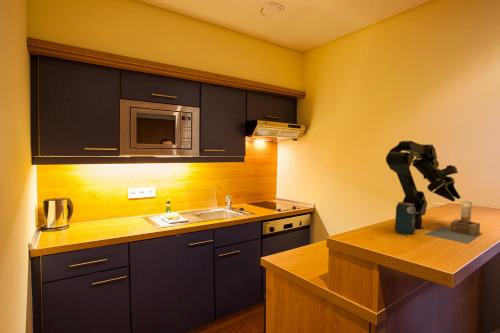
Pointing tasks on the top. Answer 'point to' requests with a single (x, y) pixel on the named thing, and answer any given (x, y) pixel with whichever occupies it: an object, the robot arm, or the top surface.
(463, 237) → the mat
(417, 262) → the top surface
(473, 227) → the hole block
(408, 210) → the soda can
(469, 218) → the peg
